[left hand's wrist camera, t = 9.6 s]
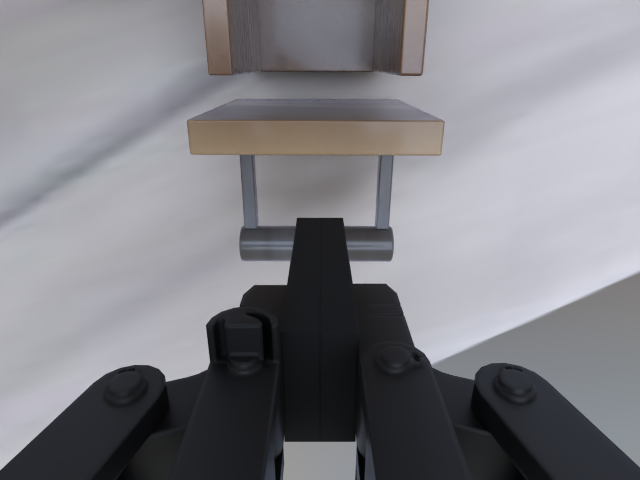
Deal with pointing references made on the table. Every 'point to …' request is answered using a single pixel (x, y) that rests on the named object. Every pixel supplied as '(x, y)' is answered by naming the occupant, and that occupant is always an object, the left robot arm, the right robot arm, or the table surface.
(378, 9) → the drawer
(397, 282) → the table surface
